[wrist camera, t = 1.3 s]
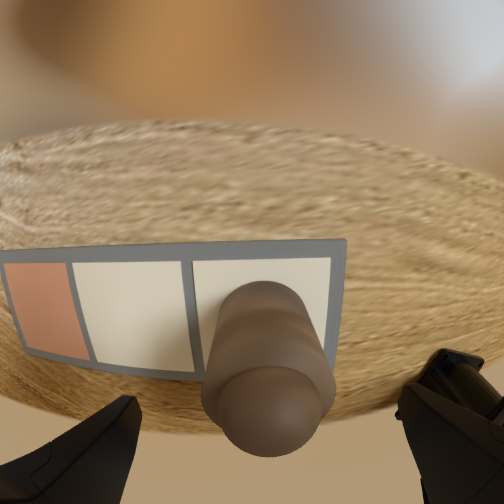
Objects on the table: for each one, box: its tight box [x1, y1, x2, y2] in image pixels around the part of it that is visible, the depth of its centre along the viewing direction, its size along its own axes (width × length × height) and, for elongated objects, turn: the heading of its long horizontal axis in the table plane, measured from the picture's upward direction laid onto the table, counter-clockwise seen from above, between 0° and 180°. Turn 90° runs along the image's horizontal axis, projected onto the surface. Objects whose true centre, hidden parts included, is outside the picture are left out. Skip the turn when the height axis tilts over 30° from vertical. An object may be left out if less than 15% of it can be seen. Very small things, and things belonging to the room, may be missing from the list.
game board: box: [0, 239, 347, 382], centre depth 14 cm, size 22×8×1 cm, turn 91°
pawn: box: [201, 281, 336, 457], centre depth 10 cm, size 4×4×8 cm
